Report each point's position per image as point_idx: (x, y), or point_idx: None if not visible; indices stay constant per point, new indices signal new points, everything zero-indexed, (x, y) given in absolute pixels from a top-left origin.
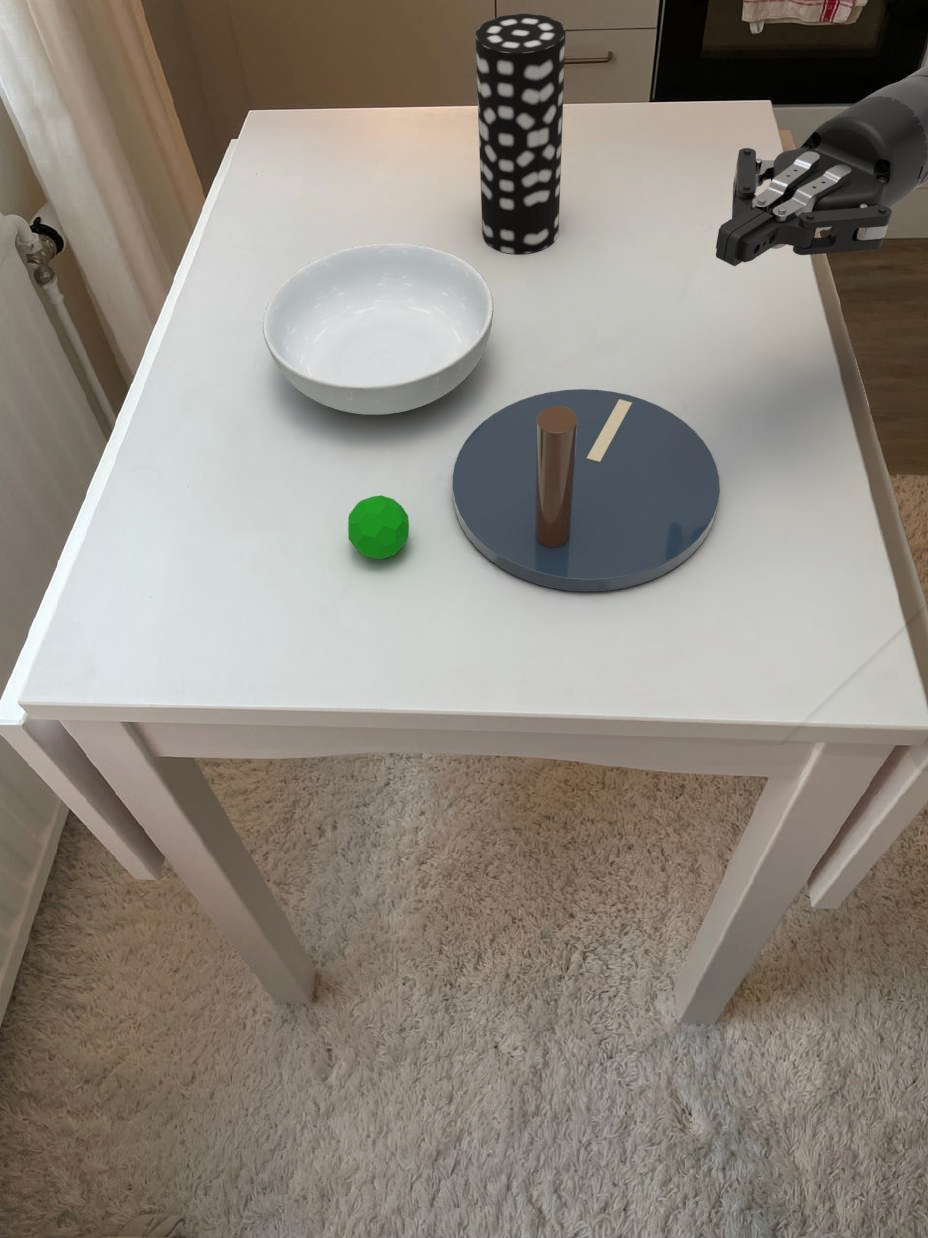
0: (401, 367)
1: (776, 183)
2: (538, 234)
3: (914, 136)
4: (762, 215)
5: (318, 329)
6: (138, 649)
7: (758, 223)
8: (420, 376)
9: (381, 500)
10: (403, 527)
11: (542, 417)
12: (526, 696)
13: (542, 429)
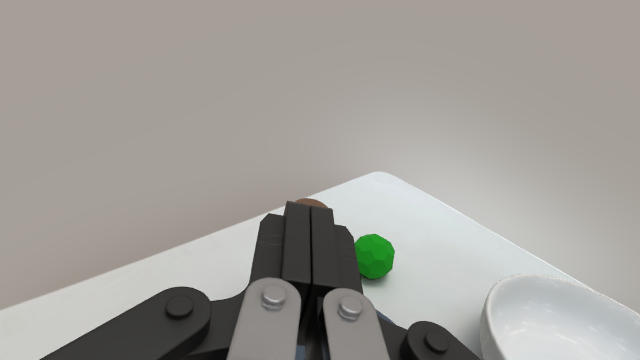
0: None
1: None
2: None
3: None
4: (303, 269)
5: None
6: (378, 190)
7: (287, 239)
8: (490, 318)
9: (382, 246)
10: (358, 254)
11: (321, 205)
12: (210, 240)
13: (311, 199)
